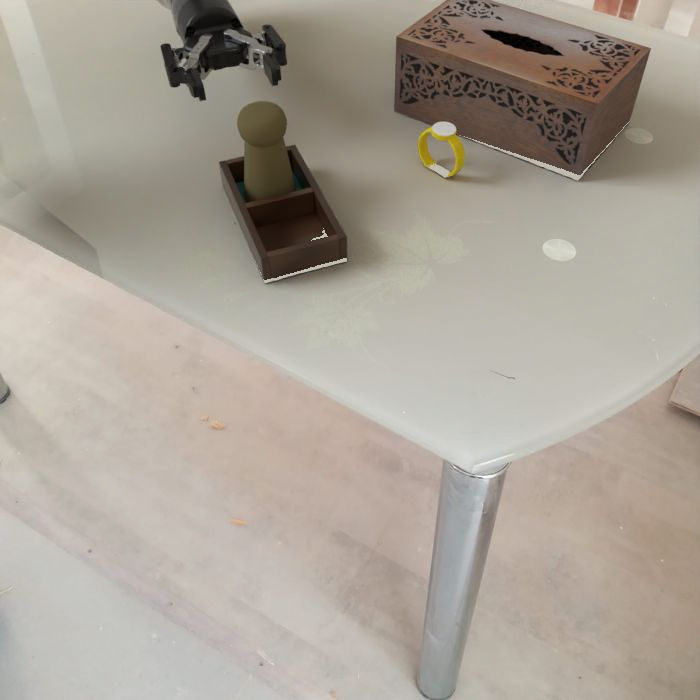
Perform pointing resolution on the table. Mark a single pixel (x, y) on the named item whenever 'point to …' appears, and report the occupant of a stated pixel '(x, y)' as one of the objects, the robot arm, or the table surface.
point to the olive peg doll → (264, 151)
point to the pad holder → (285, 221)
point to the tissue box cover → (518, 80)
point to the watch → (443, 133)
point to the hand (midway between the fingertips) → (239, 85)
